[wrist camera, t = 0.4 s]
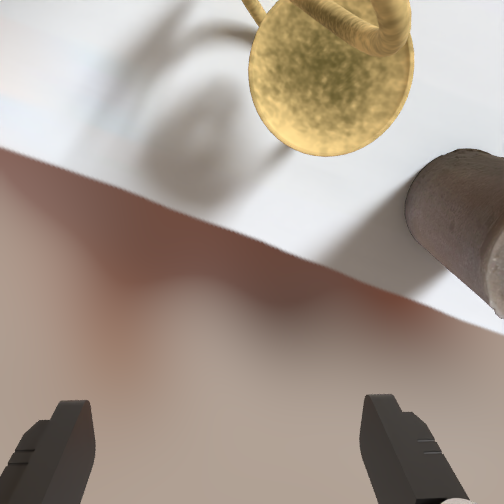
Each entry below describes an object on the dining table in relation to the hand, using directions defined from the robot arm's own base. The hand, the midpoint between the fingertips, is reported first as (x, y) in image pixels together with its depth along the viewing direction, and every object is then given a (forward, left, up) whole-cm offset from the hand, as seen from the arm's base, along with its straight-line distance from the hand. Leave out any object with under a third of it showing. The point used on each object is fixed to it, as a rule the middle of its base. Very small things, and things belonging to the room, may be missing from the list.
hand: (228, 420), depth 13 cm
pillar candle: (-3, +20, -28) cm, 34 cm away
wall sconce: (-12, +2, -28) cm, 30 cm away
